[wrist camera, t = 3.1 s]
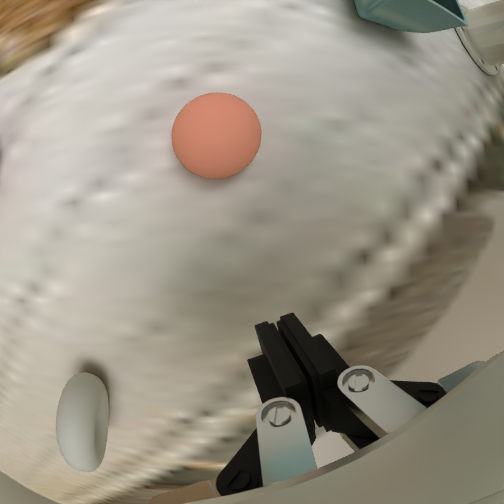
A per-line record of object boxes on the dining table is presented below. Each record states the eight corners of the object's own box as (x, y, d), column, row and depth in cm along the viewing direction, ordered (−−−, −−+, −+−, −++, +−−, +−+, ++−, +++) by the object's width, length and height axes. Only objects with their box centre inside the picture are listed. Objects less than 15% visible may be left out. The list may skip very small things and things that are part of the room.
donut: (114, 421, 23) (102, 492, 13) (86, 413, 22) (68, 481, 13) (110, 356, 21) (82, 440, 11) (77, 347, 20) (38, 423, 10)
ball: (242, 99, 18) (257, 72, 12) (259, 168, 19) (282, 164, 14) (168, 116, 17) (157, 94, 12) (185, 187, 19) (181, 190, 13)
